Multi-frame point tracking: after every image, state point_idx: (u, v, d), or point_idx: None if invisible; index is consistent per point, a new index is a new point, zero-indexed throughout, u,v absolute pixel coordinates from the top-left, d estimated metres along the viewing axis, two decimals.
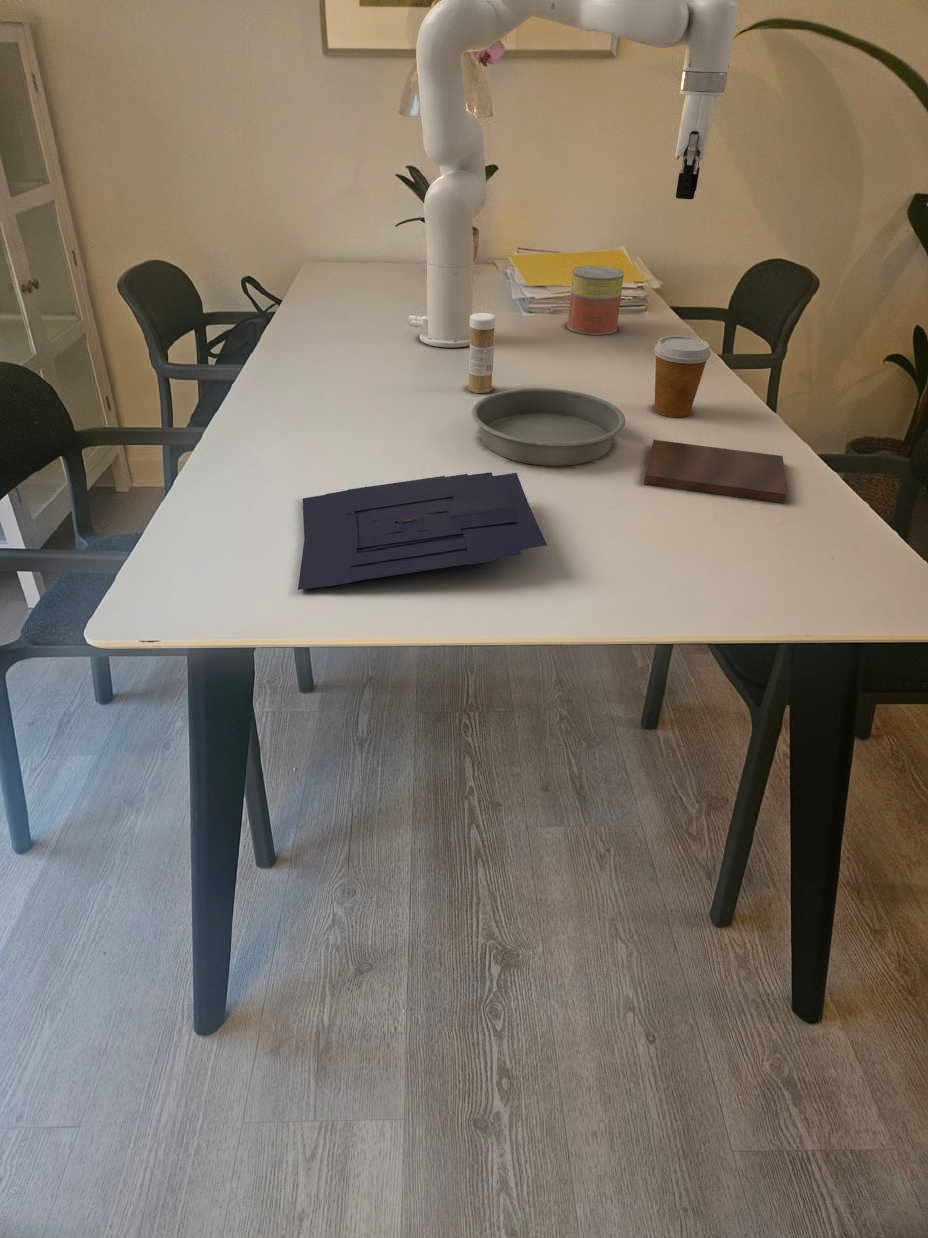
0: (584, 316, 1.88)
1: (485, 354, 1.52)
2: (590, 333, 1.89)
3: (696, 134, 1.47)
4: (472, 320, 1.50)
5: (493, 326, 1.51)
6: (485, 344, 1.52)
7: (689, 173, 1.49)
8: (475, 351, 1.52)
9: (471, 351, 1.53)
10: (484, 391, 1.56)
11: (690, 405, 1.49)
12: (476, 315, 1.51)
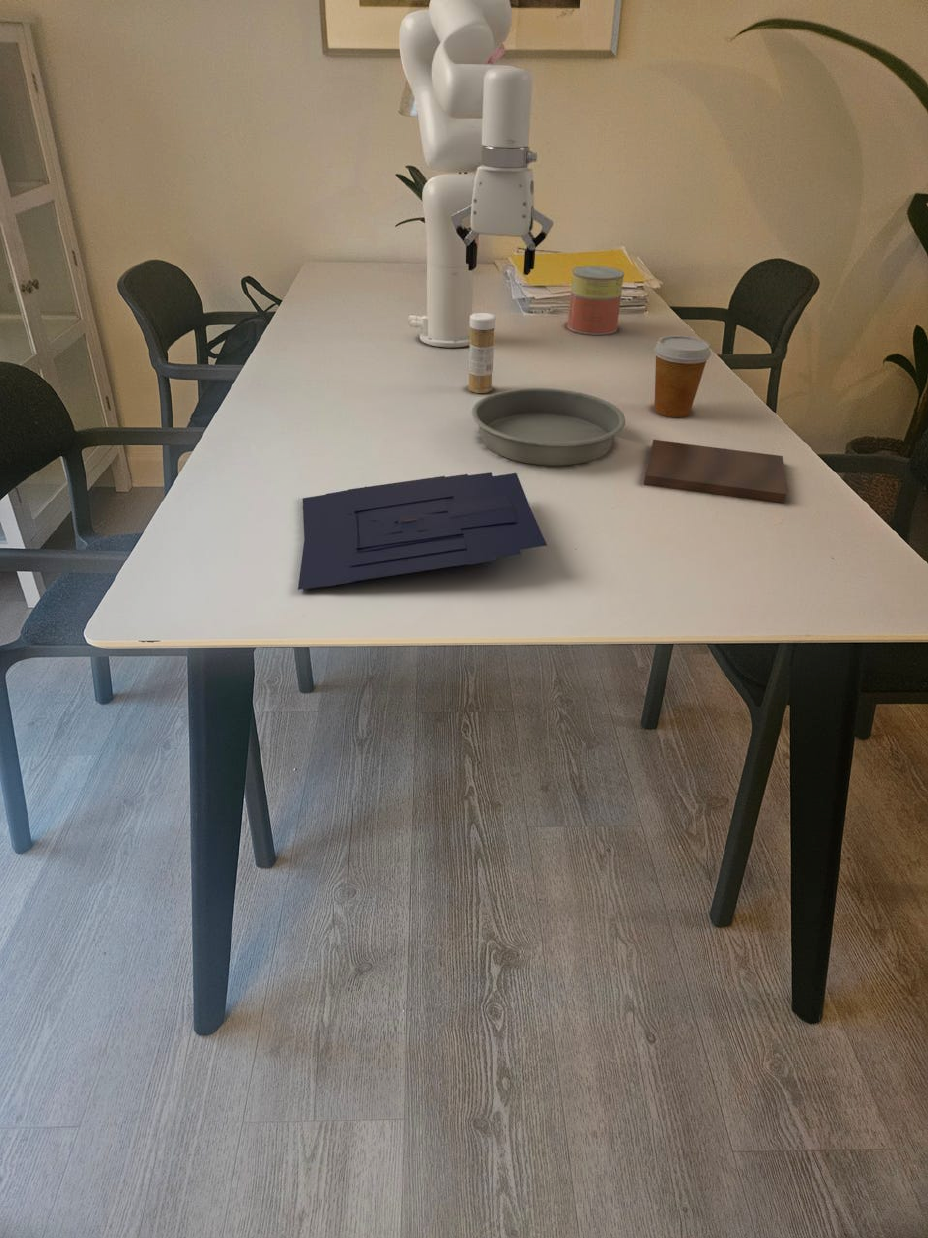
0: (584, 316, 1.88)
1: (484, 354, 1.52)
2: (590, 333, 1.89)
3: (471, 205, 1.43)
4: (472, 320, 1.50)
5: (493, 326, 1.51)
6: (485, 344, 1.52)
7: None
8: (475, 351, 1.52)
9: (471, 351, 1.53)
10: (484, 391, 1.56)
11: (690, 405, 1.49)
12: (476, 315, 1.51)
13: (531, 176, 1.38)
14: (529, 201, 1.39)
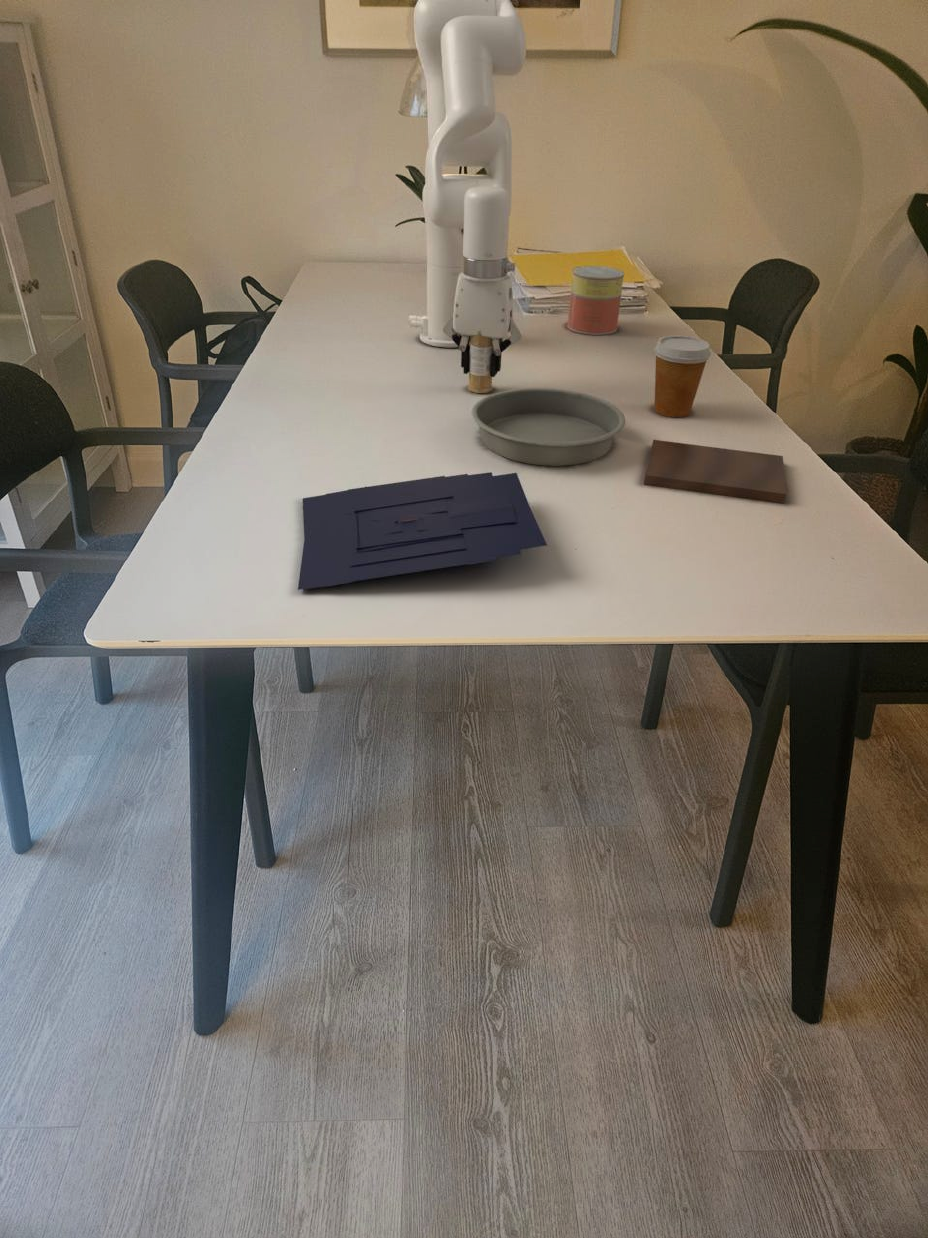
0: (584, 316, 1.88)
1: (485, 354, 1.52)
2: (590, 333, 1.89)
3: None
4: None
5: None
6: (486, 344, 1.52)
7: None
8: (475, 351, 1.52)
9: (471, 351, 1.53)
10: (484, 391, 1.56)
11: (690, 405, 1.49)
12: None
13: (509, 284, 1.47)
14: (507, 307, 1.47)
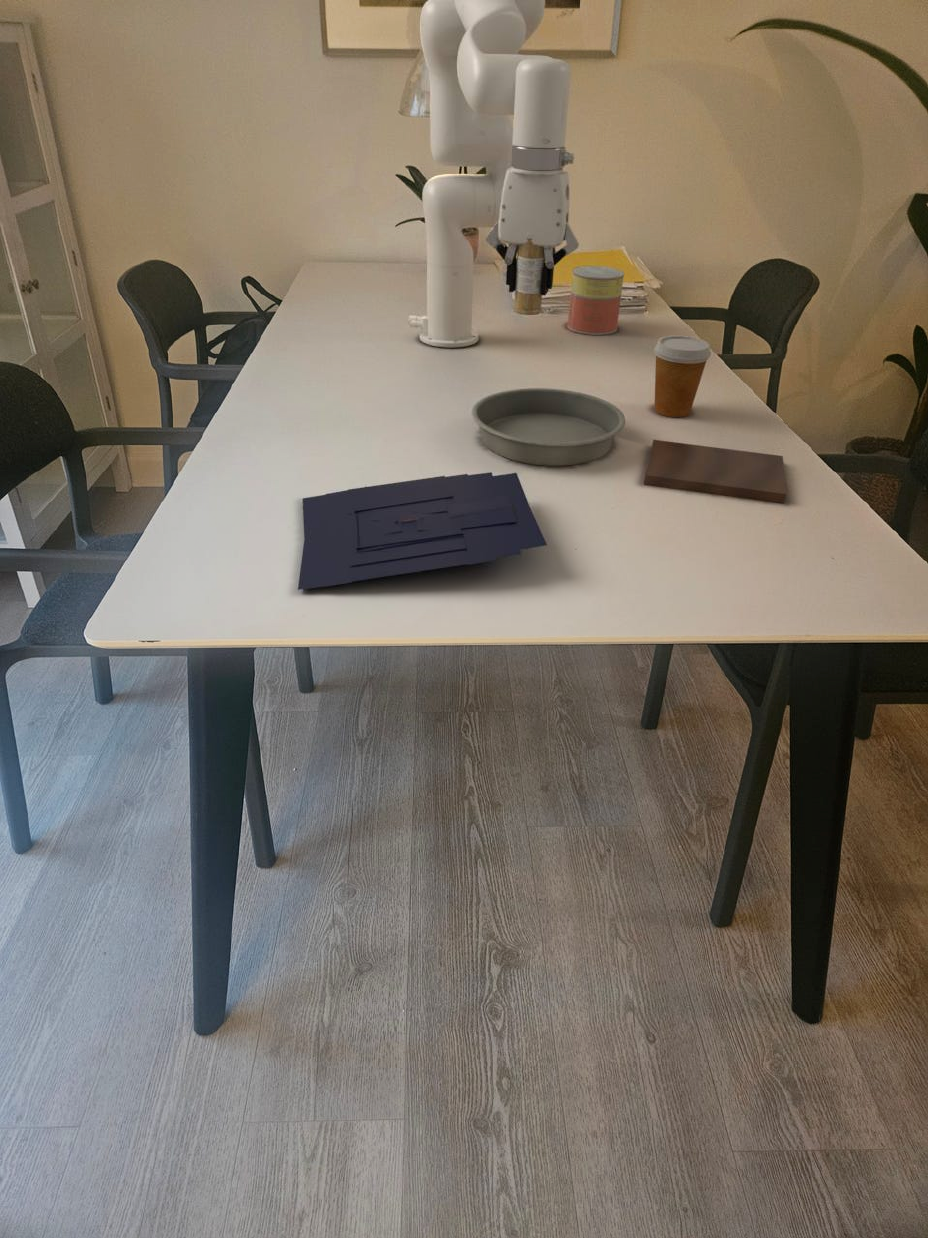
0: (584, 316, 1.88)
1: (535, 267, 1.30)
2: (590, 333, 1.89)
3: None
4: None
5: None
6: (536, 254, 1.29)
7: None
8: (524, 264, 1.30)
9: (519, 264, 1.31)
10: (533, 313, 1.34)
11: (690, 405, 1.49)
12: None
13: (567, 180, 1.24)
14: (564, 208, 1.25)
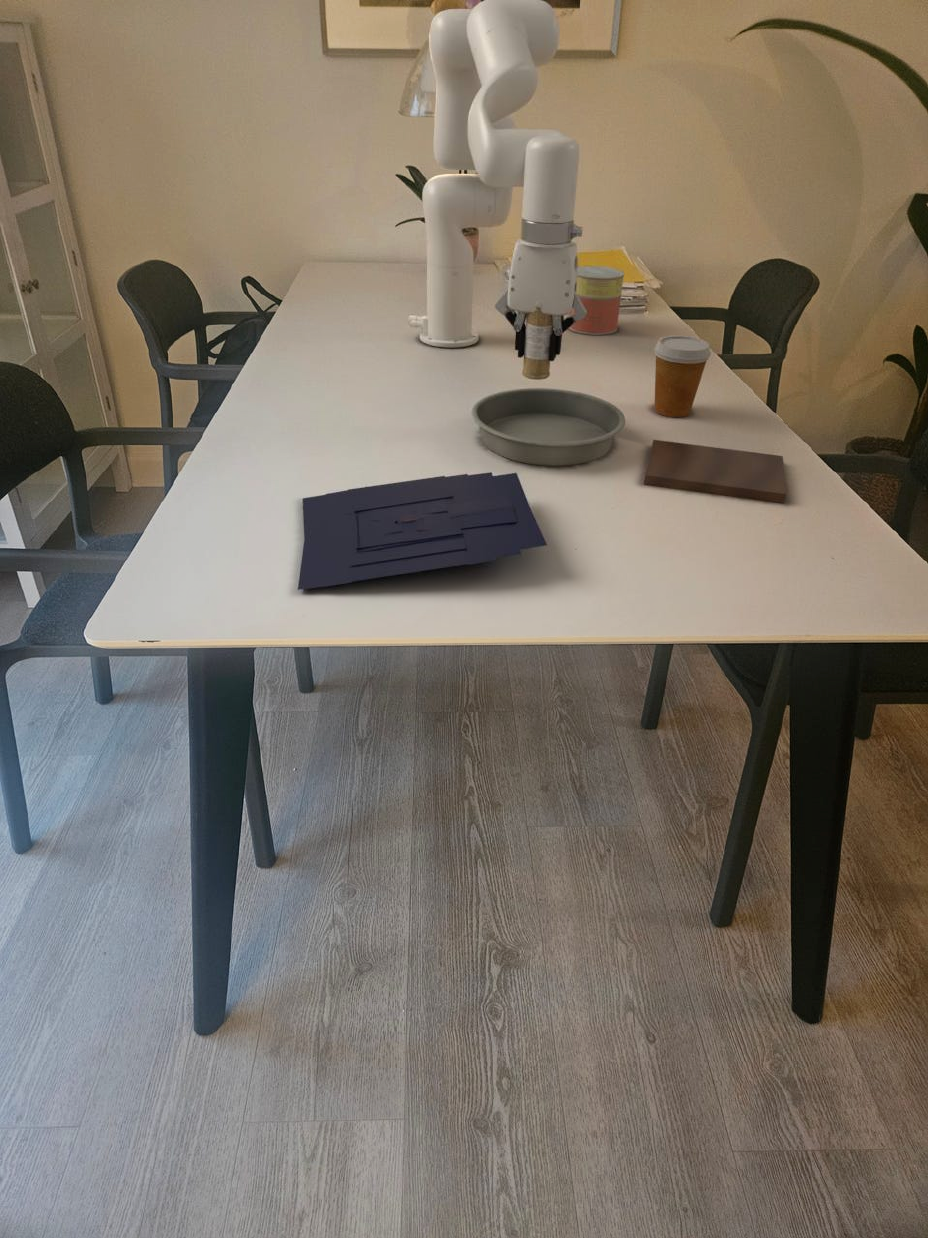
0: None
1: (544, 334, 1.32)
2: (590, 333, 1.89)
3: None
4: None
5: None
6: (545, 322, 1.31)
7: None
8: (532, 331, 1.32)
9: (528, 331, 1.32)
10: (541, 377, 1.36)
11: (690, 405, 1.49)
12: None
13: (575, 251, 1.26)
14: (573, 279, 1.27)
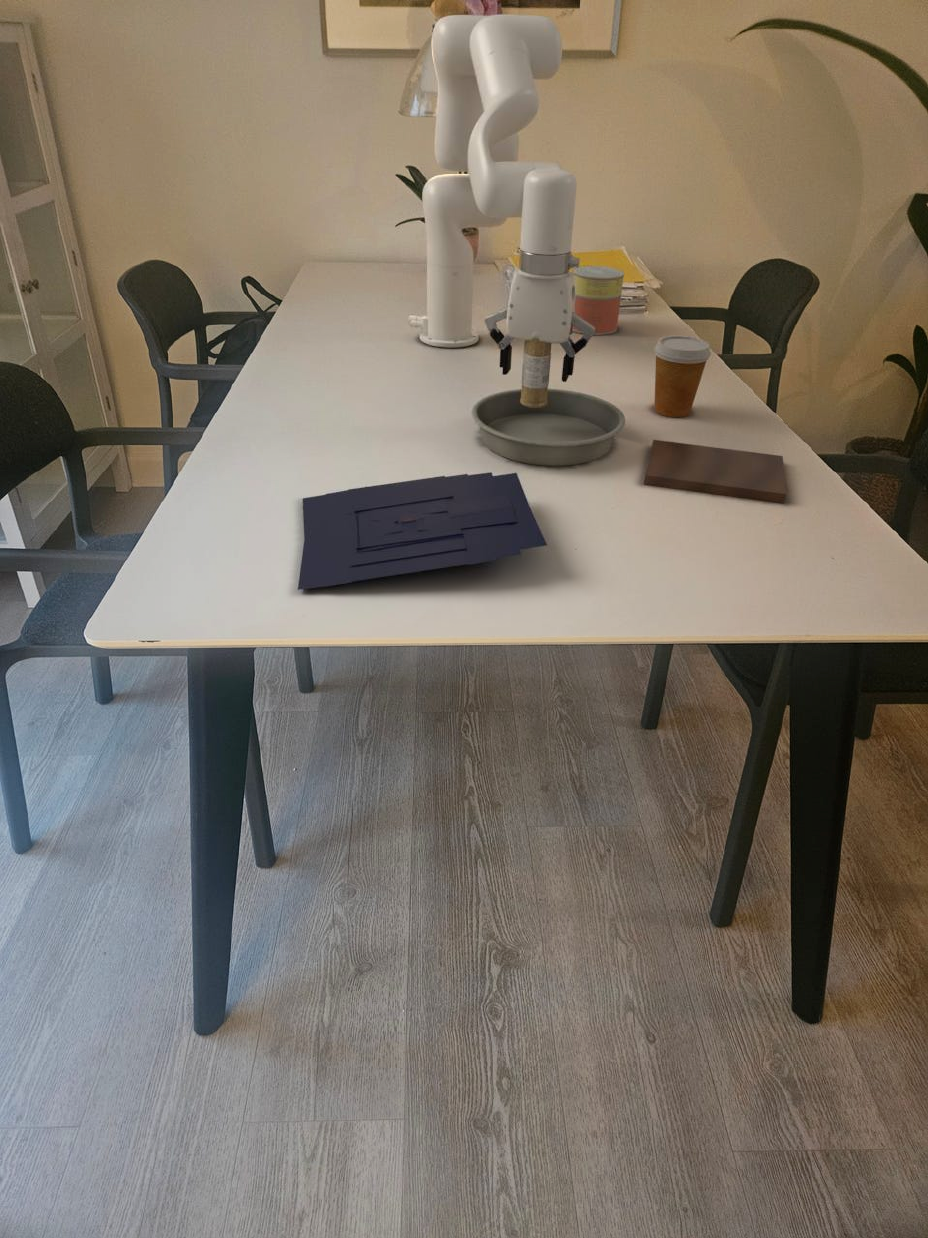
0: (584, 316, 1.88)
1: (541, 364, 1.35)
2: None
3: (506, 308, 1.33)
4: None
5: None
6: (542, 353, 1.34)
7: None
8: (530, 361, 1.35)
9: (525, 361, 1.35)
10: (539, 406, 1.38)
11: (690, 405, 1.49)
12: None
13: (572, 281, 1.28)
14: (570, 308, 1.29)
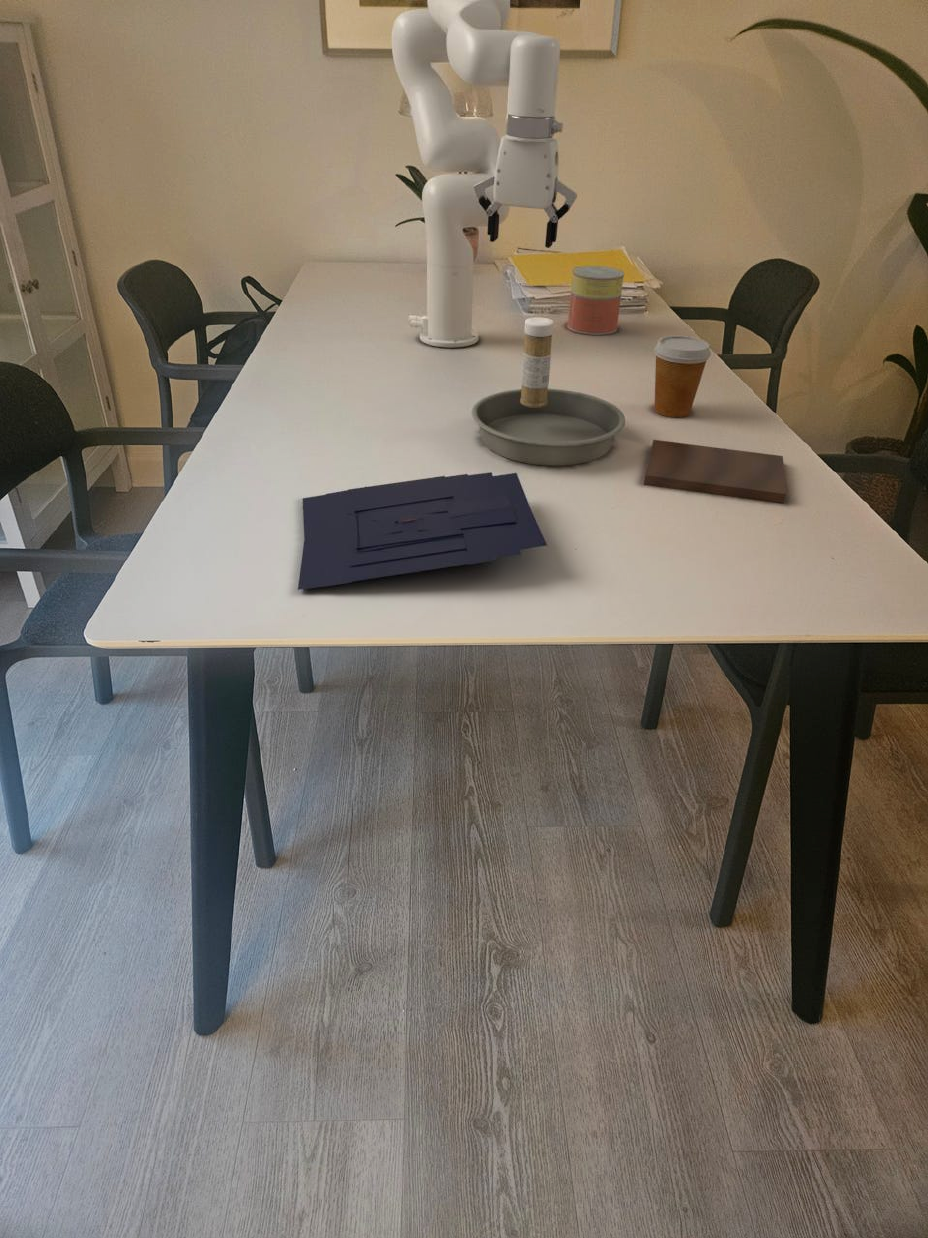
0: (584, 316, 1.88)
1: (541, 364, 1.35)
2: (590, 333, 1.89)
3: (494, 175, 1.41)
4: (528, 326, 1.32)
5: (551, 332, 1.33)
6: (542, 353, 1.34)
7: None
8: (530, 361, 1.35)
9: (525, 361, 1.35)
10: (539, 406, 1.38)
11: (690, 405, 1.49)
12: (532, 320, 1.33)
13: (556, 147, 1.37)
14: (553, 172, 1.38)
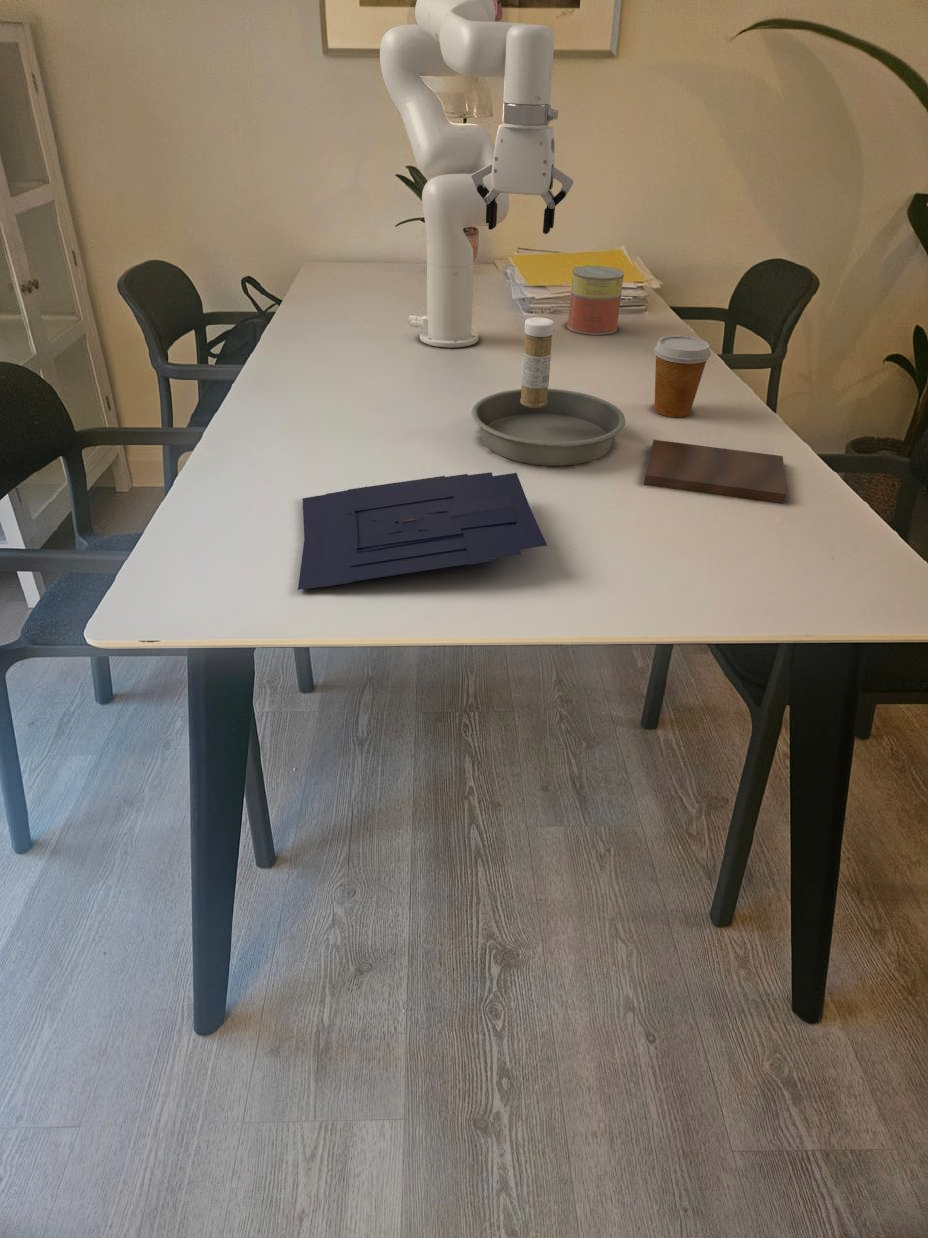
0: (584, 316, 1.88)
1: (541, 364, 1.35)
2: (590, 333, 1.89)
3: (491, 163, 1.44)
4: (528, 326, 1.32)
5: (551, 332, 1.33)
6: (542, 353, 1.34)
7: None
8: (530, 361, 1.35)
9: (525, 361, 1.35)
10: (539, 406, 1.38)
11: (690, 405, 1.49)
12: (532, 320, 1.33)
13: (552, 134, 1.40)
14: (549, 159, 1.40)
